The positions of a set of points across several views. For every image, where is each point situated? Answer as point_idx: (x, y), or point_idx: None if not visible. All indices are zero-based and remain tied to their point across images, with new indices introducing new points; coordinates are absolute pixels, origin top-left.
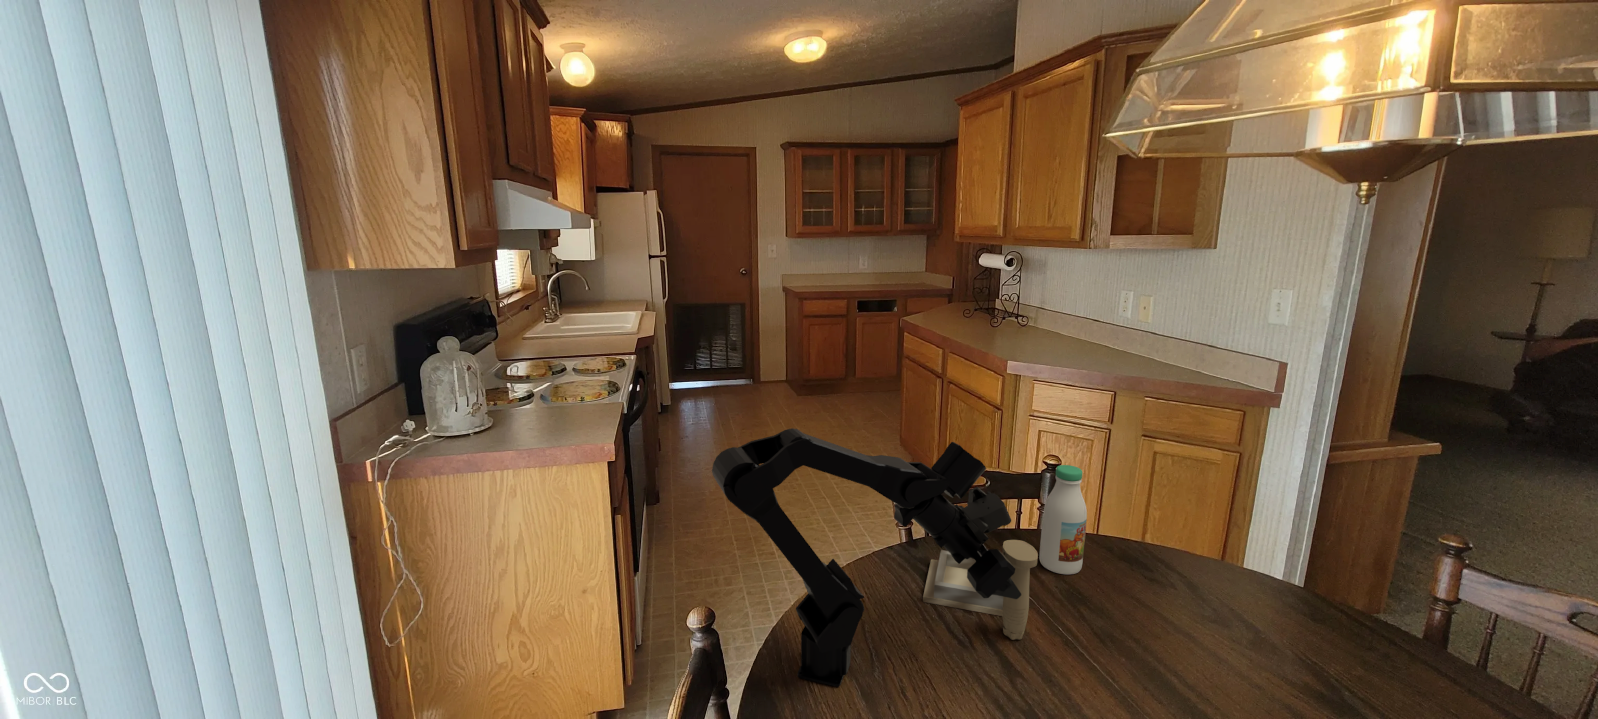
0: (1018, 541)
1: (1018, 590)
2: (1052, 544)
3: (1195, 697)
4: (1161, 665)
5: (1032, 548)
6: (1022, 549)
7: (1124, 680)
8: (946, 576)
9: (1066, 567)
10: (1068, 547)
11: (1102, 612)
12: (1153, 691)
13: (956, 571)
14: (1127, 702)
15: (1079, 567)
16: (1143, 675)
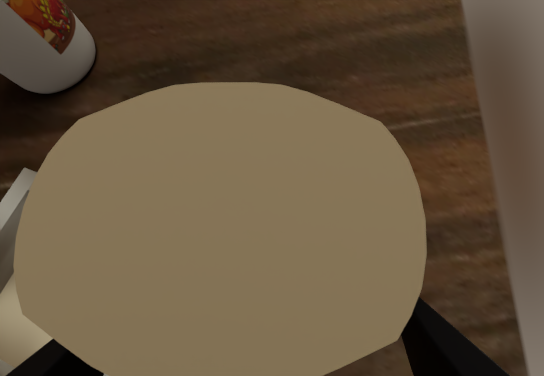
0: (67, 166)
1: (455, 328)
2: (11, 35)
3: (444, 19)
4: (369, 29)
5: (204, 97)
6: (204, 185)
7: (413, 101)
8: (19, 362)
9: (82, 51)
10: (38, 5)
11: (220, 53)
12: (437, 69)
13: (6, 319)
14: (472, 122)
15: (86, 29)
16: (396, 66)
